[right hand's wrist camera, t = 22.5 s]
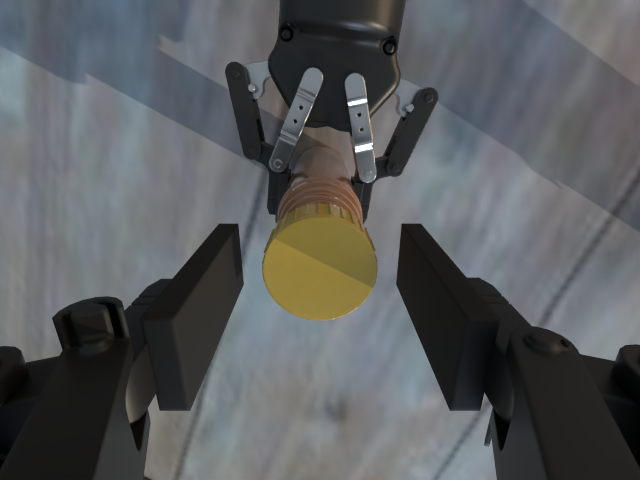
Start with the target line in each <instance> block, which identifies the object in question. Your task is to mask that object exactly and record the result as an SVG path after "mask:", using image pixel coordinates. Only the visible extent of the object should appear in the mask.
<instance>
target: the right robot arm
mask: <svg viewBox="0 0 640 480" xmlns="http://www.w3.org/2000/svg"><path fill="white" fill-rule="evenodd" d="M243 285H244V282H243V271H242V260H241V249H240V238H239V227H238V224H219V225H218V226H217V227H216V228H215V229H214V230H213V232H212V233H211V234H210V235H209V236H208V238H207V239H206V240H205V241H204V242H203V243H202V245H201V246H200V247H199V248H198V249H197V251H196V252H195V253H194V254H193V255H192V256H191V258H190V259H189V260H188V261H187V262H186V264H185V265H184V266H183V267H182V268H181V269H180V271H179V272H178V273H177V274H176V275H175V277H174V278H173V279H160V280H158V281H157V282H155V283H153V284H151V285H150V286H148V287H147V288H146V289H145V290H144V291H143V292H142V293H141V294H140V295H139V298H136V299H135V300H134V301H133V303H132V305H131V306H129V307H128V308H127V309H126V310H125V311H124V308H123V304H122V301H121V300H119V299H118V298H114V297H108V296H107V297H95V298H90V299H86V300H82V301H79V302H76V303H74V304H71V305H69V306H67V307H65V308H64V309H62V310H60V311H59V312H58V313H57V314H56V315H55V316H54V317H53V318H52V319H53V322H54V325H55V328H56V331H57V334H58V337H59V340H60V343H61V347H62V352H61V354H60V356H57V357H52V358H47V359H42V360H37V361H32V362H27V363H25V360H24V357H23V355H22V352H21V350H19V349H18V348H16V347H10V346H2V347H0V480H148V479H147V478H144V477H143V476H144V469H145V461H146V453H147V445H148V438H149V430H150V417H149V412H148V406H149V405H150V403H151V401H152V399H153V398H154V396H155V394H156V396H157V400H158V405H159V409H160V411H190V409H191V407H192V405H193V402H194V400H195V398H196V395H197V393H198V391H199V388H200V386H201V384H202V381H203V379H204V376H205V374H206V372H207V369H208V367H209V365H210V362H211V360H212V358H213V355H214V353H215V351H216V348H217V346H218V344H219V341H220V339H221V336H222V334H223V332H224V329H225V327H226V325H227V322H228V320H229V318H230V315H231V313H232V311H233V308H234V306H235V304H236V301H237V299H238V296H239V294H240V292H241V289H242V287H243ZM396 285H397V287H398V289H399V292H400V294H401V296H402V299H403V301H404V304H405V306H406V308H407V311H408V313H409V315H410V318H411V320H412V322H413V325H414V327H415V329H416V332H417V334H418V336H419V339H420V341H421V344H422V346H423V348H424V351H425V353H426V355H427V358H428V360H429V362H430V365H431V367H432V369H433V372H434V374H435V376H436V379H437V381H438V384H439V386H440V388H441V391H442V393H443V395H444V398H445V400H446V402H447V405H448V407H449V409H450V411H480V409H481V405H482V400H483V396H484V392H485V394H486V396H487V397H488V399H489V401H490V403H491V404H492V406H493V408H492V412H491V416H490V420H489V425H488V429H487V433H486V437H485V443H484V445H485V446H488V447H489V445H490V441H491V439H492V444H493V452H494V460H495V468H496V475H497V480H640V345H625V346H624V347H622V348H620V350H619V352H618V355H617V357H616V360H615V361H611V360H606V359H601V358H596V357H591V356H586V355H581V354H579V352H578V350H577V349H576V347H575V346H574V345H573V344H572V343H571V342H570V341H569V340H567V339H566V338H564V337H563V336H561V335H559V334H557V333H555V332H552V331H550V330H547V329H543V328H539V327H533V326H531V325H530V324H529V323H528V322H527V321H526V320H525V319H524V318H523V317H522V316H521V315H520V314H519V313H518V311H517V310H516V309H515V308H514V307H513V306H512V305H511V304H509V302H508V301H507V300H506V299H505V298H504V297H502V296H501V294H500V293H499V292H498V291H497V289H496V288H495V287H494V286H493V285H491V284H489V283H487V282H486V281H484V280H482V279H480V278H466V277H465V275H464V274H463V273H462V272H461V271H460V269H459V268H458V267H457V266H456V265H455V264H454V262H453V261H452V260H451V259H450V258H449V256H448V255H447V254H446V253H445V252H444V251H443V249H442V248H441V247H440V246H439V245H438V243H437V242H436V241H435V240H434V239H433V238H432V236H431V235H430V234H429V233H428V232H427V230H426V229H425V228H424V227H423V226H422V225H421V224H402V227H401V238H400V249H399V260H398V271H397V282H396Z"/></svg>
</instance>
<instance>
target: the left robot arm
mask: <svg viewBox="0 0 640 480" xmlns="http://www.w3.org/2000/svg"><path fill="white" fill-rule="evenodd" d="M405 1H406V0H280V11H279V27H278V38H277V42H276V44H275V47H274V49H273V50H272V52H271V54H270V56H269V59H268V61H262V62H256V63H250V64H244V65H242V64H240V63H237V62H231V63H229V64H228V65H227V67H226V70H225V73H226V78H227V82H228V87H229V91H230V96H231V100H232V104H233V109H234V113H235V118H236V122H237V126H238V131H239V135H240V140H241V144H242V148H243V153H244V155H245V156H246V157H247V158H248V159H251V160H256V161H258V162H260V163H262V164H264V165H265V166H266V167H267V168H268V170H269V188H268V203H267V208H268V211H269V214H274V215H276V223H277V217H278V208H279V205H280V202H281V199H282V197H283V194H284V192H285V189H286V187H287V184H288V182H289V179H290V177H291V169H289V161H290V159H291V156H292V154H293V152H294V149H295V147H296V145H297V142H298V140H299V138H300V136H301V133H302V131H303V129H304V127H312V128H319V127H325V126H329V127H332V128H334V129H337V130H339V131H345V132H349V135H350V141H351V145H352V150H353V156H354V161H355V167H356V170H355V177H351V182H352V185H353V187H354V189H355V192H356V194H357V197H358V199H359V202H360V205H361V208H362V218H363V224H364V222H365V221H366V219H367V215H368V209H369V204H370V198H371V192H372V187H373V184H374V182H375V181H376V180H378V179H380V178H383V177H387V176H393V177H397V176H399V175H401V174H402V172H403V171H404V168H405V166H406V164H407V162H408V160H409V158H410V156H411V154H412V152H413V150H414V148H415V146H416V144H417V142H418V140H419V138H420V136H421V134H422V132H423V130H424V128H425V125H426V123H427V121H428V119H429V117H430V115H431V113H432V111H433V109H434V107H435V105H436V103H437V101H438V93H437V91H436V90H435V89H434V88H422V87H420V86H418V85H415V84H413V83H411V82H409V81H407V80H405V79H402V78H400V70H399V67H398V63H397V48H398V42H399V36H400V30H401V24H402V19H403V13H404V7H405ZM271 77H272V79H273V81H274V83H275V84H276V86H277V88H278V90H279V92H280V93H281V95H282V97H283V99H284V101H285V103H286V104H287V106H288V108H289V113H288V115H287V117H286V120H285V122H284V125H283V127H282V130H281V132H280V136H279V138H278V141H277V143H276V146H275V147H274V146H272V145H270V144H268V143H266V142H265V137H264V132H263V128H262V123H261V118H260V113H259V108H258V103H257V99H258V98H261V97H262V96H263V95H264V92H265V83H266V81H267V80H268V79H269V78H271ZM393 93H394V94H395V95H396V97H397V105H396V112H397V114H398V115H399V116H401V118H400V120H399V122H398V125H397V127H396V129H395V131H394V133H393V135H392V138H391V140H390V142H389V144H388V146H387V148H386V151H385V153H384V155H383V156H382V157H378V158H374V151H373V138H372V131H371V125H370V118H371V117H372V116H373V114H374V113H375V112H376V111H377V110H378V109H379V108H380V107H381V106H382V105H383V104H384V103H385V101H386V100H387V99H388V98H389V97H390V96H391V95H392V94H393Z"/></svg>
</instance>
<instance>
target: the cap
mask: <svg viewBox="0 0 640 480" xmlns="http://www.w3.org/2000/svg"><path fill="white" fill-rule="evenodd" d="M374 251H375V248H374V245H373V243H372V240H371V237H370V236H369V234H368V231H367V228H366V227H365V228H364V226H363V225H362V223H361V220H360V219H357V218H356V217H355V216H354V215H353V214H352V212H348V211H346V210H344V209H343V207H337V206H334V205H332V204H320V203H318V204H311V205H309V204H306V206H303V207H300V208H298V207H297V208H296V209H295V210H294V211H292V212H290V213H289V214H288V213H287V214H286V216H285V217H284V218H283V219H282V220H281V221H280V220H279V221H278V224H277V226H276V228H275V229H273V230H272V233H271V235H270V238H269V240H268V243H267V245H266V248H265V251H264V253H265V255H264V259H263V278H264V282H265V285H266V287H267V289H268V291H269V293H270V295H271V296H272V298H273V299H274V300H275V301H276V302H277V303H278V304H279V305H280V306H281V307H282V308H283V309H285V310H286V311H288V312H289V313H291V314H293V315H296V316H298V317H301V318H305V319H309V320H330V319H335V318H339V317H342V316H344V315H346V314H349V313H350V312H352V311H354V310H355V309H356V308H358V307H359V306H360V305H361V304H362V303H363V302H364V301H365V300H366V299H367V297H368V296H369V295H370V293H371V291H372V289H373V287H374V284H375V281H376V277H377V258H376V255H375V253H374Z"/></svg>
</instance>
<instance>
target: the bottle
mask: <svg viewBox="0 0 640 480" xmlns="http://www.w3.org/2000/svg"><path fill="white" fill-rule="evenodd" d="M318 203H320V204H332V205H334V206H337V207H343V209H344V210H346V211H348V212H352V214H353V215H354V216H355V217H356V218H357V219H360V220H361V223H362V225H363V218H362V208H361V205H360V202H359V199H358V197H357V194H356V192H355V189H354V187H353V185H352V182H351V180H350V177H349V175H348V172H347V170H346V167H345V165H344V162H343V160H342V158H341V157H340V155H339V154H338V153H337V152H335V151H334V150H333V149H331V148H328V147H324V146H316V147H312V148H310V149H307V150H306V151H305V152H303V153H302V154H301V155H300V157H299V158H298V160H297V162H296V165H295V167H294V170H293V172H292V175H291V177H290V179H289V182H288V184H287V187H286V189H285V192H284V194H283V197H282V199H281V202H280V205H279V208H278V217H277V224H278V221H279V220H280V221H281V220H282V219H283V218H284V217H285V216H286V214H287V213H288V214H289V213H290V212H292V211H294V210H295V209H296V208H297V207H298V208H300V207H303V206H306V204H309V205H311V204H318Z"/></svg>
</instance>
